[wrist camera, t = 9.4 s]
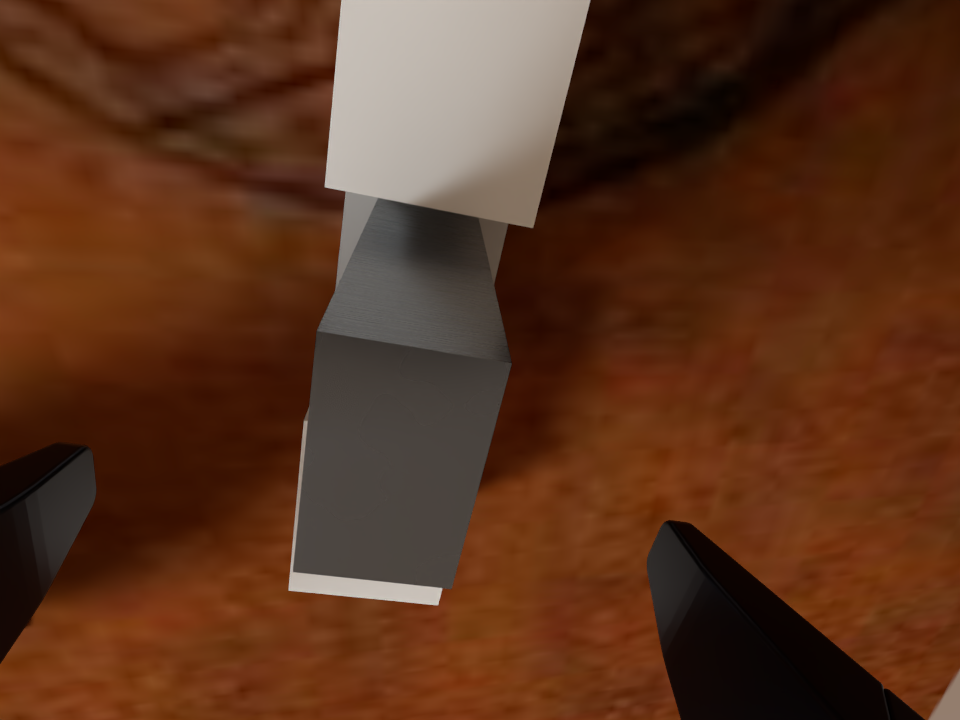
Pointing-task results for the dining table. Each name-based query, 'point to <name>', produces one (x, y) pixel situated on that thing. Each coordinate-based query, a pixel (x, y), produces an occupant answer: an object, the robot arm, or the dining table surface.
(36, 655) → the dining table surface
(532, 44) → the white block dumbbell
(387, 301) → the grey brushed metal block
